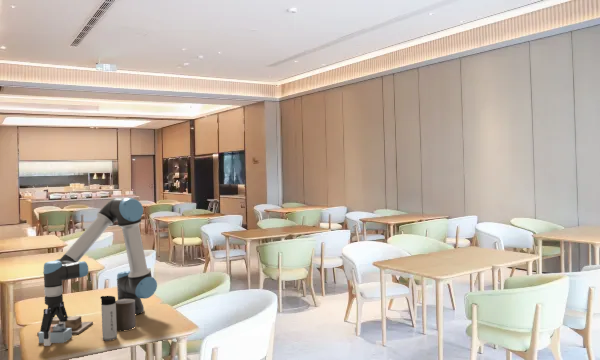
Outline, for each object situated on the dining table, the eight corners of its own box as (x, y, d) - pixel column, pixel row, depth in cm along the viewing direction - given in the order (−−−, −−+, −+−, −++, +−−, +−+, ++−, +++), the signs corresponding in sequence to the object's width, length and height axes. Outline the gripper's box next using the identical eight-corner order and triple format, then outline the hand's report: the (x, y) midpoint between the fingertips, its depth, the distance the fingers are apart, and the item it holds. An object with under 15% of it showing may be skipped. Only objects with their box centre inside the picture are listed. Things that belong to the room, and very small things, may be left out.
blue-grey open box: (72, 338, 232) (71, 327, 232) (63, 343, 225) (63, 332, 225) (47, 338, 233) (47, 328, 233) (38, 343, 226) (38, 333, 226)
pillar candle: (116, 332, 238) (115, 302, 237) (113, 327, 246) (113, 297, 246) (137, 329, 242) (136, 299, 242) (134, 324, 251) (133, 294, 250)
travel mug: (104, 336, 232) (102, 294, 232) (118, 336, 233) (117, 294, 232) (100, 341, 226) (98, 298, 225) (114, 340, 226) (113, 297, 226)
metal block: (64, 331, 231) (64, 323, 231) (60, 333, 227) (60, 326, 227) (56, 331, 231) (56, 324, 231) (53, 333, 227) (52, 326, 227)
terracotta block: (56, 331, 230) (56, 324, 230) (52, 334, 227) (52, 326, 227) (49, 331, 231) (48, 324, 230) (45, 334, 227) (44, 326, 227)
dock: (92, 323, 252) (92, 313, 252) (78, 334, 237) (77, 322, 236) (54, 324, 253) (54, 313, 253) (37, 335, 237) (36, 323, 237)
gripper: (59, 288, 241) (60, 331, 241) (30, 302, 216) (32, 350, 216) (74, 288, 240) (75, 331, 241) (47, 301, 216) (49, 349, 216)
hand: (55, 340), depth 229 cm, fingers open, 13 cm apart
